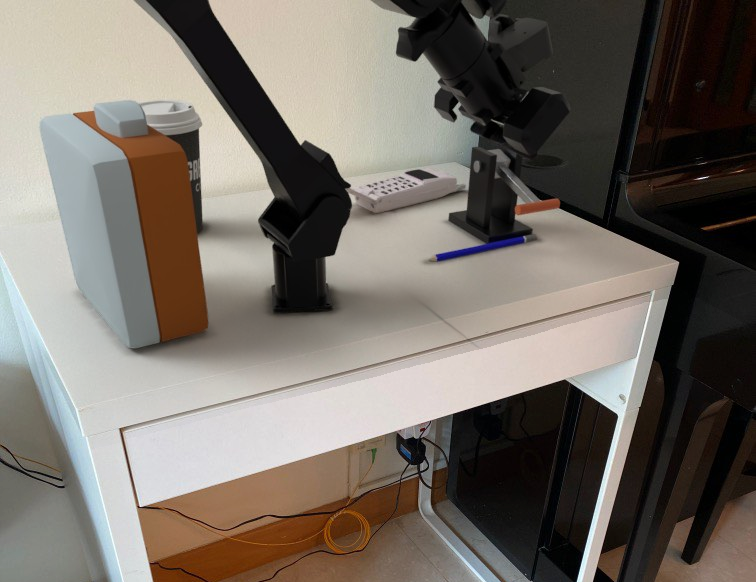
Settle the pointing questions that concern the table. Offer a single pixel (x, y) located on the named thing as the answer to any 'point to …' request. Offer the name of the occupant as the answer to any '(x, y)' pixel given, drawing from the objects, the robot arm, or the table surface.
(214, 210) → the table surface
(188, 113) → the coffee cup
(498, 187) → the switch bracket
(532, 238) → the pencil
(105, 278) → the alarm clock
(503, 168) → the switch lever
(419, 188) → the mobile phone
